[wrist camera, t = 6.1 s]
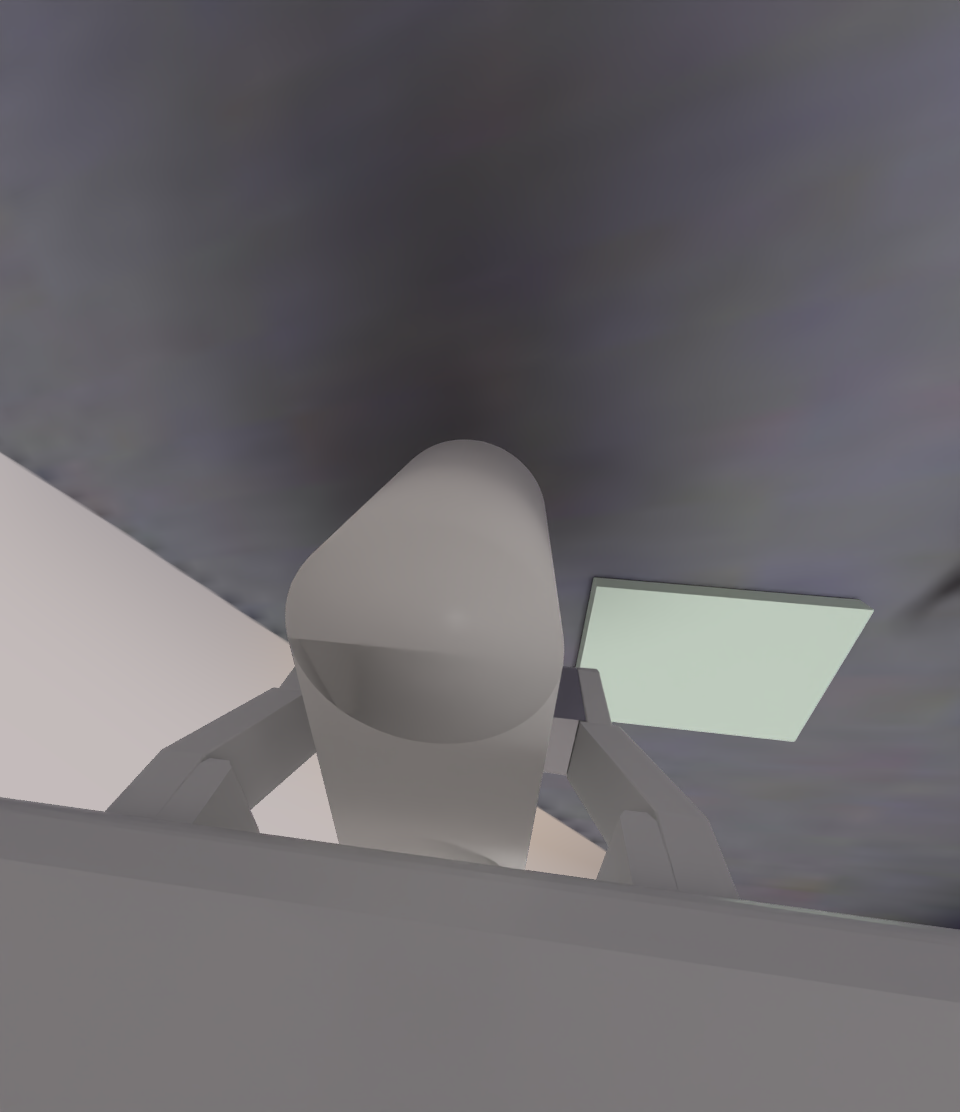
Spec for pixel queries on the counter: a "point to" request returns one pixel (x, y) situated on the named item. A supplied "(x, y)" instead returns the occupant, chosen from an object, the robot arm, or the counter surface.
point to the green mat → (715, 655)
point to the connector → (434, 658)
